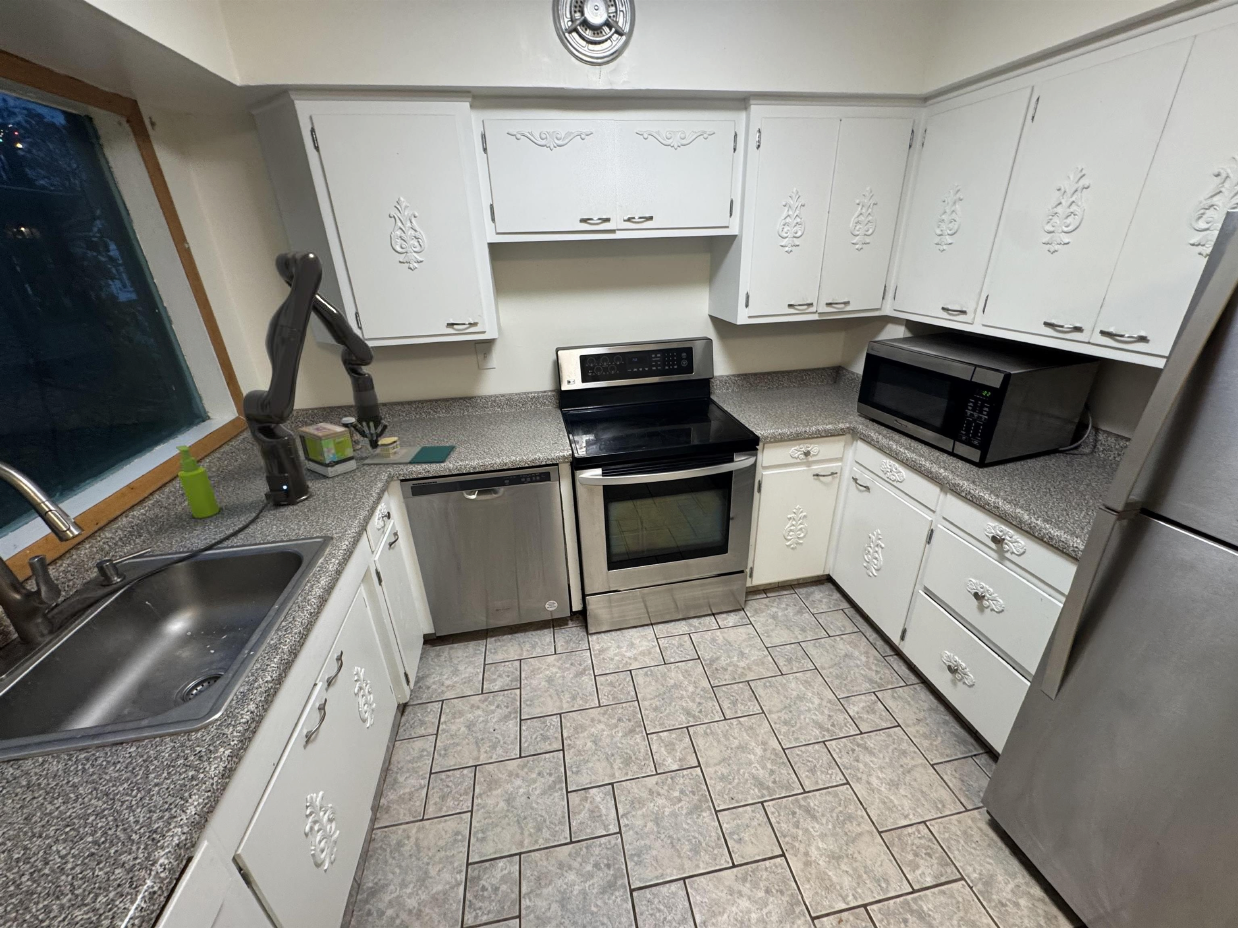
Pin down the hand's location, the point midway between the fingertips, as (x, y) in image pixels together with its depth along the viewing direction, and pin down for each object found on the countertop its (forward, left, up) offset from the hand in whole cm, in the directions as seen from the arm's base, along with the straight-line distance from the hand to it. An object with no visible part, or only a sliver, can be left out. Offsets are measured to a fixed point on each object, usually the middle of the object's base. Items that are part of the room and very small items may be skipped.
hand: (375, 448), depth 183 cm
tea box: (-11, +11, -3) cm, 16 cm away
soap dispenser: (-42, +32, -3) cm, 53 cm away
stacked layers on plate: (0, -5, -3) cm, 6 cm away
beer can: (+9, +12, -3) cm, 15 cm away
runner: (0, -12, -3) cm, 13 cm away
